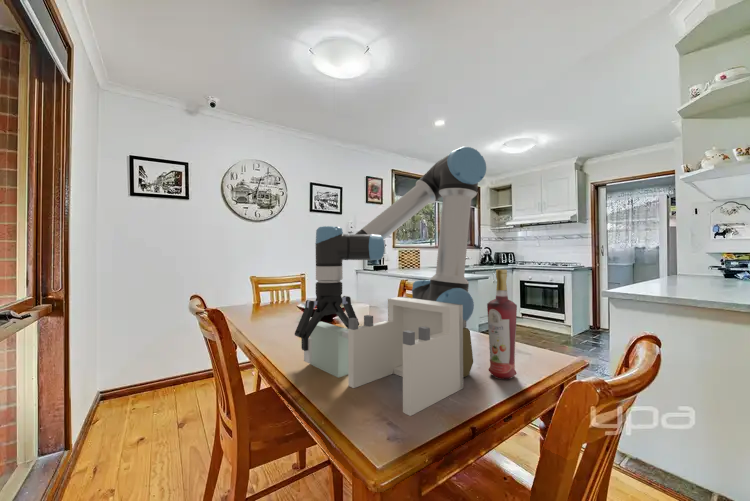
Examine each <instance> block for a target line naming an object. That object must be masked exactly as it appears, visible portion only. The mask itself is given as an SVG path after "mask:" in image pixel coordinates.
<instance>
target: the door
mask: <svg viewBox="0 0 750 501" xmlns="http://www.w3.org/2000/svg"><path fill="white" fill-rule="evenodd" d="M309 338H312V363H310V364H309V365H310V366H313V367H315V368H317V369H320V370H322V371H324V372H325V373H328V374H329V375H331V376H333V377H336V378H342V377H345V376H348V329H347V327H342V326H340V325H336V324H332V323H328V322H325V321H319V323H318V324H317V326H316V327H315V329H314V330H313V332H312V333H311V335H310V337H309Z"/></svg>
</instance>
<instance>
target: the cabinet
mask: <svg viewBox="0 0 750 501" xmlns="http://www.w3.org/2000/svg"><path fill="white" fill-rule="evenodd" d="M358 322H359V318H358V317H357V318H349V329H348V375H347V376H348V383H347V384H348V387H350V388H352V389H356V388H358V387H362V386H363V385H367V384H369V383H371V382H375V381H378V380H379V379H383V378H385V377H387V376H388V377H389V376H391V375H393V374H394V375H396V376H399V377H401V378H402V413H403V414H405V415H407V416H409V417H411V416H413V415H416V414H418V413H419V412H421V411H422V410H425V409H427V408H428V407H430V406H432V405H434V404H436V403H438V402H440V401H442V400H443V399H445V398H447V397H449V396H451V395H453V394H455V393H456V392H459V391H460V390H462V389H464V377H463V305H460V304H453V303H445V302H438V301H430V300H422V299H415V298H412V297H408V296H405V297H404V296H398V297H397V296H396V297H391V298H387V320H385V321H379V322H374V315H370V314H366V315H363V325H359V326H358Z"/></svg>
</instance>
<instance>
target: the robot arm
mask: <svg viewBox="0 0 750 501" xmlns="http://www.w3.org/2000/svg"><path fill="white" fill-rule="evenodd" d="M486 174H487V164H486V160H485V158H484V156H483V155H482V154H481V152H480V151H478V150H477V149H475V148H473V147H471V146H462V147H459V148H457V149H454V150H452V151H451V152H449V154H447V155H446V156H444V157H443V158H441V159H439V160H438V161H437V162H435V164H433V165H432V166H431V167H430V169H429V170H427V172H425V173H424V174H423V175H422V176H421V177H420V178H419V179H418V180H417V181H415V186H413V187H412V188H410V190H409V191H407V192H405V194H403V195H402V196H401V197H400V198H399V199H397V200H396V201H395V202H394V203H392V204H391V205H389V206H388V207H387V208H386V209H385V210H383V211H382V212H381V213H380V214H378V215H377V216H376V217H374V219H372V220H371V221H369V222H368V223H367V224H366V225H365V226H363V227H362V228H361V229H360V230H359V231H357V232H356V233H354V234H348V233H344V231H343V227H340V226H332V225H330V226H329V225H328V226H326V225H325V226H324V225H322V226H319V227H318V228H317V229H316V230H315V243H314V244H315V280H316V281H317V282H315V297H316V299H315V300H310V299H307V300H306V301H305V304H304V310H303V312H302V314H301V317H300V319H299V321H298V324H297V327H296V329H295V331H294V336H295V337H297V338H301V339H300V340H301V351H303V362H305V363H307V364H309V365H311V364H310V363H312V338H310V335H311V333H312V332H313V330H314V329H315V327H316V326H317V324H318V323H319V322H321V319H322V318H324V316H329V315H336V316H337V317H338V318H339V320H340V321H341V323H342V324H344V326H345V328H347V329H349V318H357V319H358V317H357V315H356V312H355V310H354V308H353V305H352V299H351V297H350V296H347V295H343V282H342V280H343V278H344V277H343V261H380V260H382V259H383V258H384V255H385V240H386V238H388V237H389V236H390V235H391V234H393V233H394V232H395V231H396V230H397V229H399V228H400V227H401V226H403V224H405V223H406V222H407V221H409V220H410V219H411V218H412V217H414V216H415V215H416V214H417V213H420V211H421V210H422V209H423V208H425V207H426V206H427V205H429V204H435V202H436V201H438V200H439V199H441V198H442V208H441V216H440V227H439V235H438V236H439V238H438V249H437V257H436V258H437V259H436V267H435V268H436V269H435V274H434V275H432V277H430V279H426V280H425V279H424V280H421V279H420V280H415V281H414V282H412V289H411V293H412V297H411V298H415V299H422V300H430V301H438V302H445V303H453V304H460V305H463V320H466V322H468V321H469V320H470V318H471V317H472V315H473V312H474V306H475V302H474V299H473V297H472V296H471V294H470V292H469V283H470V282H469V281H468V280H467V279H466V277H465V272H466V271H465V269H466V262H467V261H466V260H467V249H468V239H469V238H468V237H469V228H470V216H471V206H472V200H473V199H474V198H475V197H476V196H478V189H479V188H478V186H479V183H480V182H481V181H482V180H483V179H484V177H485V176H486ZM342 295H343V296H342ZM341 305H342V306H343V308H344V309H343V308H342V307H341ZM315 308H316V309H315ZM314 309H315V310H314ZM344 311H345V312H344ZM359 326H360V322H359V321H358V327H359Z"/></svg>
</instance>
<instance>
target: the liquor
mask: <svg viewBox="0 0 750 501" xmlns="http://www.w3.org/2000/svg"><path fill="white" fill-rule="evenodd" d="M495 277H496V290H495V291H496V292H495V298H494V299H492V300H490V301H489V302H488V303H486V306H487V309H486V310H487V325H488V326H487V327H488V340H489V342H488V343H489V364H490V365H489V368H488V372H489V373H490V374H491V375H492V376H493V377H494V378H496V379H498V380H499V379H500V380H511V379H512V378H514V377H515V376H516V375H517V371H516V369H515V368H516V365H515V363H516V362H515V361H516V360H515V359H516V335H517V333H516V332H517V314H518V313H517V312H518V310H517V309H518V305H517V304H516V303H515V302H513V301H512V300H510V299H509V297H508V288H507V279H508V269H496V270H495Z"/></svg>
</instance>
